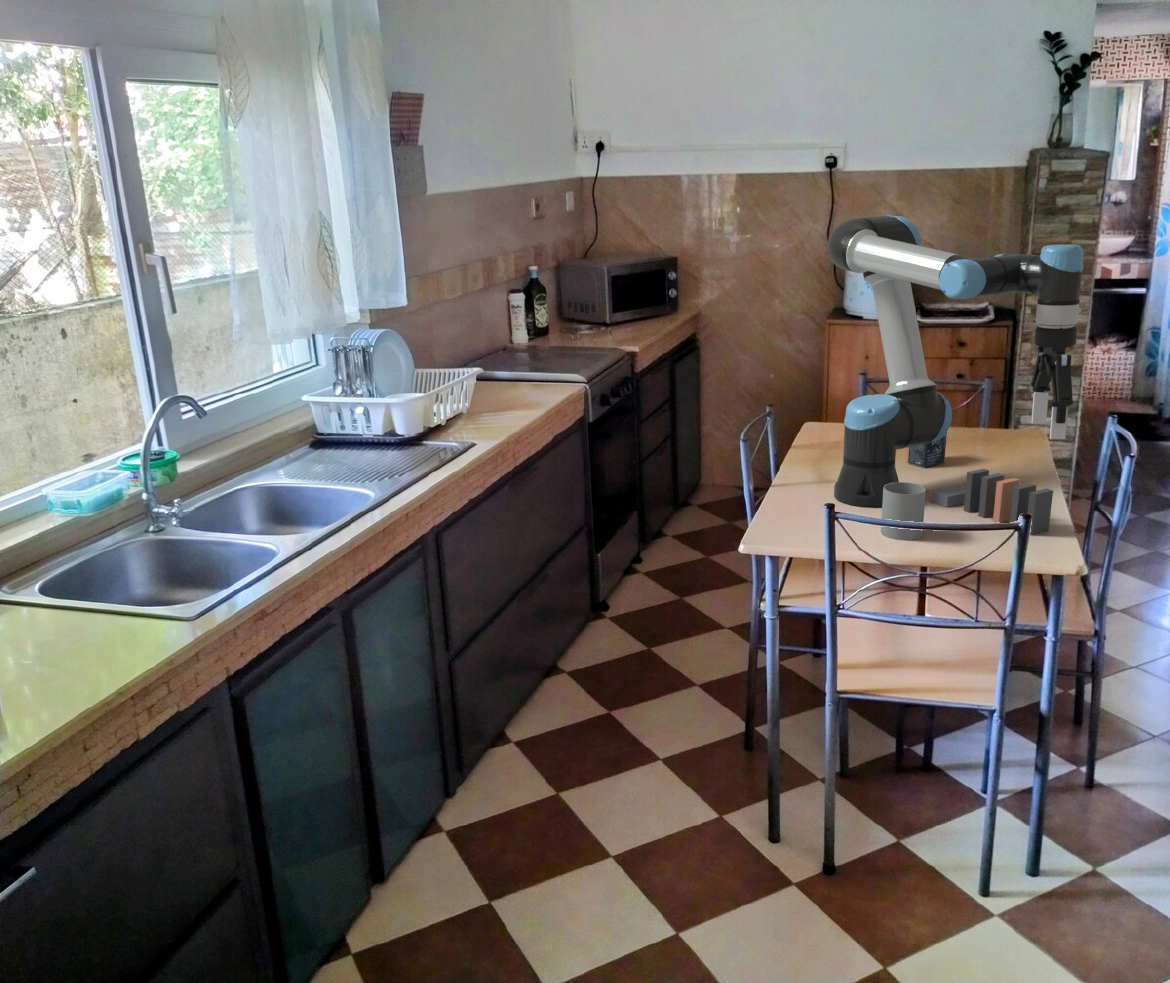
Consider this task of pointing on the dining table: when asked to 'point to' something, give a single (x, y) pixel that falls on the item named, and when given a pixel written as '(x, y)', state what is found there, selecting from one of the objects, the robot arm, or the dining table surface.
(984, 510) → the domino
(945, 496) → the block
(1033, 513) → the domino
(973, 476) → the domino
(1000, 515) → the domino
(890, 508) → the cup
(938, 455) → the box
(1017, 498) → the domino
